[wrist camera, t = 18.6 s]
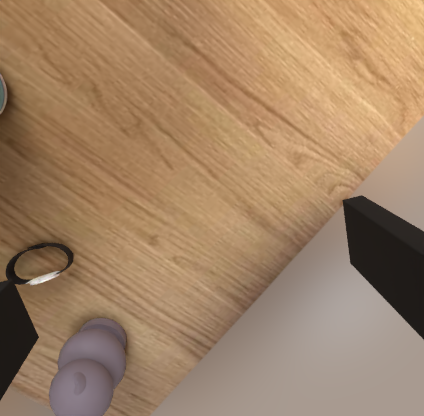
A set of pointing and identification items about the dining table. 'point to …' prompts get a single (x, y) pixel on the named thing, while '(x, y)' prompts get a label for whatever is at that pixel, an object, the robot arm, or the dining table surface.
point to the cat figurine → (89, 369)
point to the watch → (11, 275)
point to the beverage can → (2, 94)
